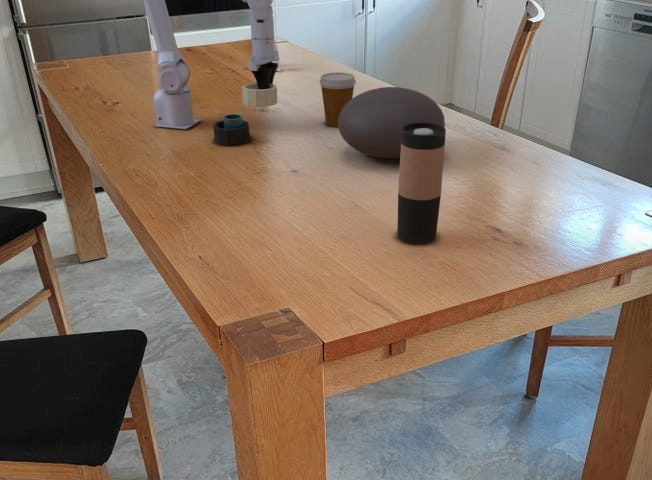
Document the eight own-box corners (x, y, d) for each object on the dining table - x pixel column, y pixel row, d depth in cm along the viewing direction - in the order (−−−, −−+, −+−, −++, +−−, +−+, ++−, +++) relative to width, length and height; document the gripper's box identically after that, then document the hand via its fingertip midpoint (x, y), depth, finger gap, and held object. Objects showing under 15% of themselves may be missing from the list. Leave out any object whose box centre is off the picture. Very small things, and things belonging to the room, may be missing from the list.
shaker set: (253, 66, 249) (251, 31, 243) (264, 64, 251) (262, 30, 244) (271, 73, 241) (269, 37, 234) (281, 71, 242) (280, 35, 236)
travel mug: (392, 229, 137) (397, 122, 126) (432, 227, 137) (440, 121, 126) (399, 246, 131) (405, 136, 119) (441, 244, 131) (451, 134, 120)
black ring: (208, 143, 180) (207, 127, 178) (224, 133, 187) (223, 117, 185) (240, 147, 178) (239, 131, 175) (255, 136, 184) (254, 121, 182)
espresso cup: (222, 142, 181) (220, 118, 177) (230, 137, 184) (228, 113, 181) (239, 144, 180) (237, 120, 176) (247, 138, 183) (245, 114, 180)
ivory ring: (237, 105, 183) (236, 88, 181) (251, 97, 190) (250, 81, 188) (268, 108, 181) (268, 91, 178) (282, 100, 188) (281, 84, 185)
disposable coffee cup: (352, 129, 189) (352, 81, 182) (316, 127, 190) (315, 80, 183) (357, 118, 196) (358, 72, 189) (323, 117, 198) (323, 71, 191)
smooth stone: (384, 131, 186) (386, 71, 178) (463, 153, 172) (469, 88, 163) (316, 154, 172) (315, 90, 164) (396, 180, 158) (399, 111, 149)
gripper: (266, 44, 173) (268, 102, 181) (288, 33, 184) (290, 88, 192) (239, 42, 175) (243, 100, 183) (263, 31, 186) (265, 86, 194)
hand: (265, 93), depth 188 cm, fingers closed on ivory ring
